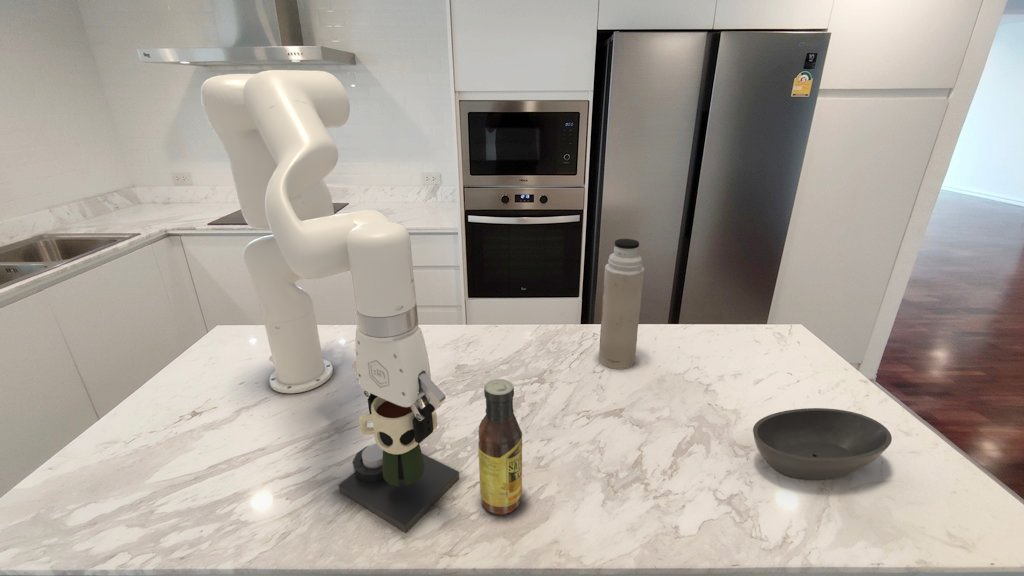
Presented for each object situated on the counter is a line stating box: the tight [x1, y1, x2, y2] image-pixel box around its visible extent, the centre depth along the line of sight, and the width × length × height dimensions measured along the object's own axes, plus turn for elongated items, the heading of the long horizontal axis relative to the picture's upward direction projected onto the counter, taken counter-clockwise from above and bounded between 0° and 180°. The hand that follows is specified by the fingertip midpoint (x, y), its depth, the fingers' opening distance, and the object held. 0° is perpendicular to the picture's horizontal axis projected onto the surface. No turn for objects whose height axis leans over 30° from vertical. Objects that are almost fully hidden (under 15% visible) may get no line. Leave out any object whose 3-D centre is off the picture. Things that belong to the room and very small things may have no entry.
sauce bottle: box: [478, 378, 523, 516], centre depth 68 cm, size 6×6×20 cm
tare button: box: [362, 443, 383, 469], centre depth 76 cm, size 4×4×2 cm
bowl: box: [752, 407, 893, 482], centre depth 77 cm, size 12×22×6 cm, turn 99°
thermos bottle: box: [598, 238, 645, 370], centre depth 103 cm, size 8×8×28 cm
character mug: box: [358, 397, 438, 486], centre depth 70 cm, size 11×7×13 cm, turn 97°
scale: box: [338, 445, 460, 533], centre depth 75 cm, size 16×12×3 cm
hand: (401, 426), depth 69 cm, fingers closed on character mug, 8 cm apart
